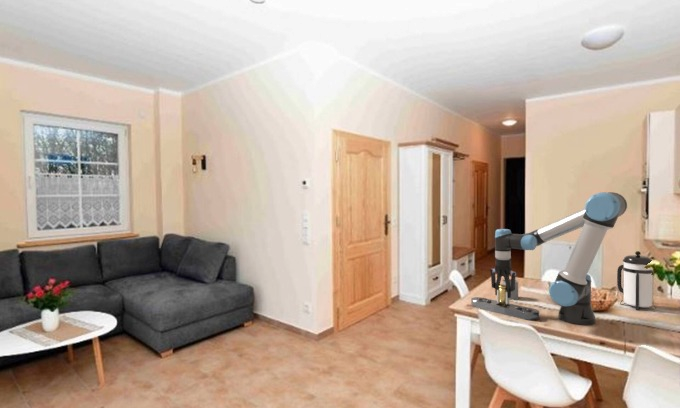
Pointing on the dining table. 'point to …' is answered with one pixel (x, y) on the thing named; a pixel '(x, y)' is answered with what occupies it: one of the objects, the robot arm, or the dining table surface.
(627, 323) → the dining table surface
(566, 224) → the robot arm
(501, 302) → the pin
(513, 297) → the cup
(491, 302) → the long dark plank
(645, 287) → the coffee press
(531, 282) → the dining table surface
